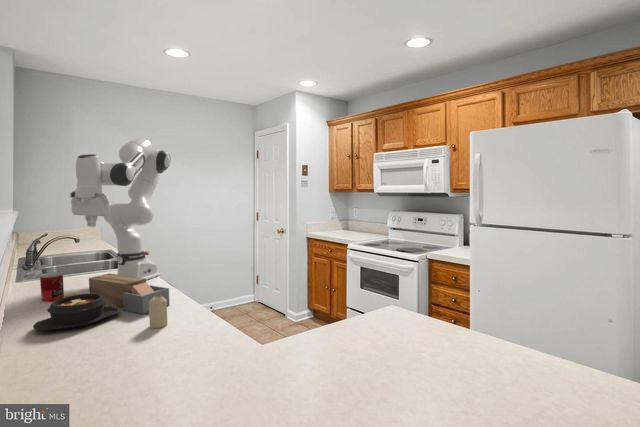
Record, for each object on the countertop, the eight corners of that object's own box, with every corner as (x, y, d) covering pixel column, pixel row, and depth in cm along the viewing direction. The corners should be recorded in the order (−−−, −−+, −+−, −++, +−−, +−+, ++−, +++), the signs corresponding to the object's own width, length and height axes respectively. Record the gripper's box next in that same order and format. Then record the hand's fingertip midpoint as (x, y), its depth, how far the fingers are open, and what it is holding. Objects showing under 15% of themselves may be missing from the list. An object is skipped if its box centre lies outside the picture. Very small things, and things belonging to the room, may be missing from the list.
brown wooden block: (110, 296, 160) (109, 273, 159) (147, 302, 150) (146, 278, 149) (90, 301, 152) (88, 278, 151) (127, 309, 142) (125, 284, 141)
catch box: (150, 301, 151) (149, 285, 151) (169, 305, 147) (168, 288, 146) (123, 310, 141) (122, 292, 140) (143, 314, 136) (142, 296, 135)
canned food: (55, 302, 152) (54, 276, 151) (36, 302, 152) (34, 276, 151) (68, 296, 160) (67, 271, 159) (50, 296, 160) (49, 271, 159)
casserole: (41, 341, 113) (39, 314, 112) (27, 326, 125) (26, 302, 125) (126, 319, 132) (125, 296, 131) (107, 308, 144) (106, 287, 143)
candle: (146, 326, 124) (144, 297, 123) (160, 321, 129) (158, 293, 128) (157, 329, 121) (156, 300, 121) (171, 324, 126) (169, 295, 126)
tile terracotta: (143, 286, 148) (146, 282, 147) (152, 296, 146) (155, 292, 145) (130, 290, 142) (132, 285, 142) (139, 300, 140) (141, 296, 140)
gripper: (113, 193, 151) (115, 226, 152) (82, 193, 160) (84, 224, 161) (98, 193, 145) (100, 228, 146) (67, 193, 154) (69, 226, 155)
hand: (91, 226), depth 154 cm, fingers closed
